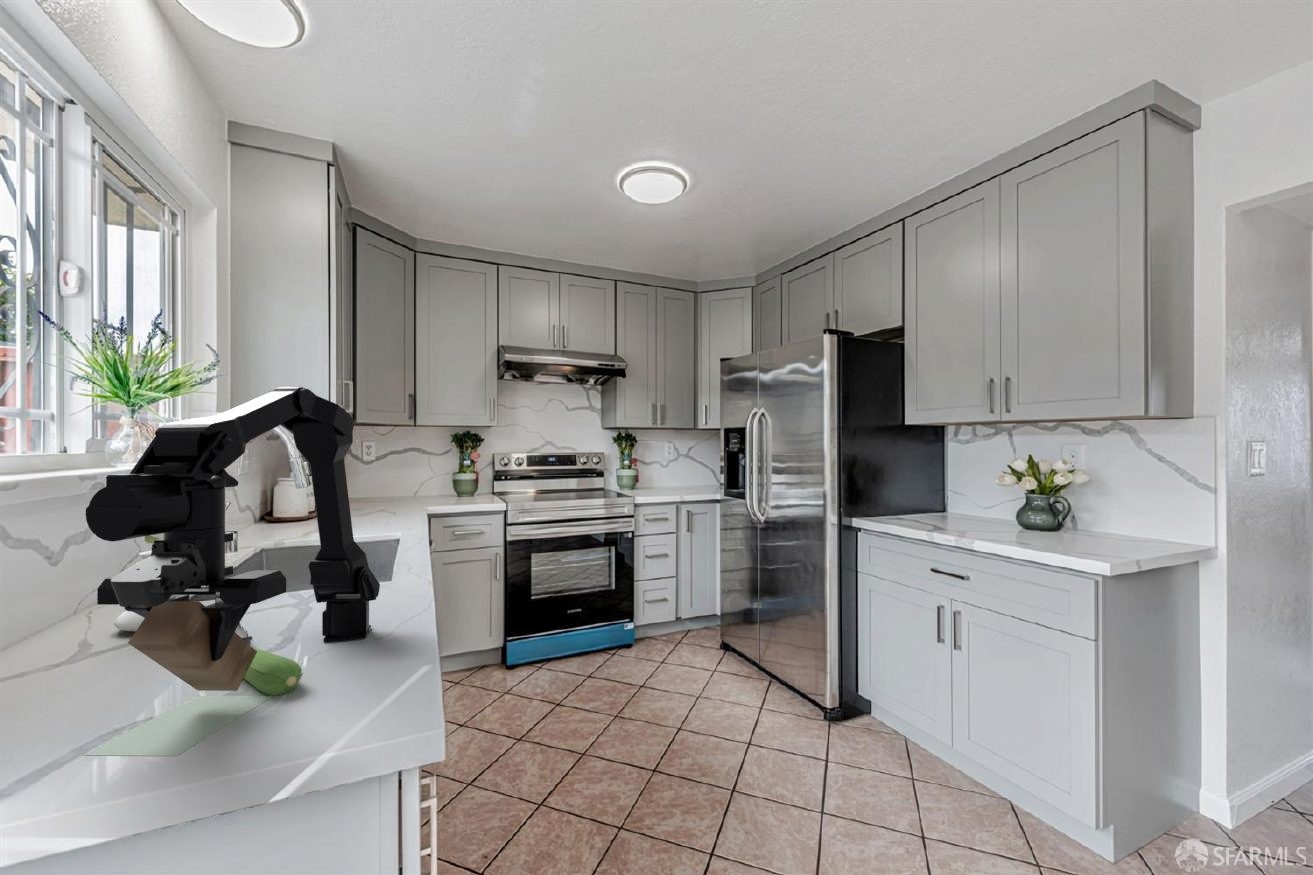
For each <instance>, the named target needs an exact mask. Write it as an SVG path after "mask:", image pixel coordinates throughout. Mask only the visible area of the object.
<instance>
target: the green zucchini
mask: <svg viewBox="0 0 1313 875" xmlns="http://www.w3.org/2000/svg"><path fill="white" fill-rule="evenodd" d="M251 647H252V648H254V649H255V650H256V651H257V653H256V655H255V657H254V659H253V661H252V663H251V665H250V667H249V669H248V671H247V673H246V675H245V677H244V679H243V680H246V682H248V683H250V684H251V685H252V686H253V687H254V688H256V689H257V690H259V692H261V693H263V694H267V695H269V696H276V697H277V696H281V695H284V694H287V693H290V692H292V691H293V690H294V689H295V688H296V687H297V686H298V684H299V682H300V680H301V678H302V676H303V675H304V674H303V672H302V668H301V665H299V663H298V662H296V661H295V660H293V659H291V658H289V657H285V656H281V655H277V654H274V653H271V652H268V651H265V650H262V649H260V648H256V647H254V646H251Z"/></svg>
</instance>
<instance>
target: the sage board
mask: <svg viewBox="0 0 1313 875" xmlns="http://www.w3.org/2000/svg"><path fill="white" fill-rule="evenodd" d="M273 697H274V695H196V696H194V697H193V698H190V699H189V700H187V701H185V702H182V703H181V704H179V705H177V706H175V707H173V708H171V709H169V710H167V711H165V712H164V713H162V714H159V715H158V716H156V717H154V718H152V719H150V720H148V721H146V722H144V723H142V724H141V725H138V726H137V727H134V728H132V729H131V730H129V731H127V732H125V733H123V734H121V735H119V736H117V737H115V738H114V739H112V740H110V741H108V742H106V743H104V744H102V745H100V746H98V747H96V748H95V749H93V750H90V751H88V752H87V753H85V754H83V756H84V757H85V756H89V757H90V756H92V757H93V756H101V757H103V756H104V757H105V756H106V757H108V756H110V757H115V756H117V757H178V756H180V755H181V754H183V753H184V752H186V751H188V750H189V749H191V748H192V747H195V746H196V745H197V744H199V743H201V742H203V741H204V740H205V739H207V738H209V737H210V736H212V735H214V734H215V733H216V732H218V731H220V730H221V729H223V728H225V727H226V726H228V725H230V724H232V723H233V722H235V721H236V720H237V719H240V718H241V717H243V716H245V715H246V714H248V713H250V712H251V711H252V710H254V709H256V708H257V707H259V706H260V705H262V704H263V703H265V702H267V701H268V700H270V699H271V698H273Z"/></svg>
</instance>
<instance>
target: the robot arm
mask: <svg viewBox="0 0 1313 875" xmlns="http://www.w3.org/2000/svg"><path fill="white" fill-rule="evenodd" d="M279 426H281V427H283V428H284V429H285V430H287V431H288V432H289V433H291V434H292V436H293V441H294V444H295V447H296V449H297V450H298V452H299V453H300V454H301V455H302V456H303V457H304V459H305V460H306V461H307V462H308V464H309V468H310V473H311V474H310V475H311V483H312V490H313V497H314V498H313V499H314V505H315V507H314V508H315V513H316V520H317V521H316V522H317V529H318V537H319V544H320V548H319V550H318V552H317V554H316V555H315V558H314V559H313V560H311V561H310V562H309V564H308V569H309V572H310V583H309V584H310V585H312V588H313V589H312V590H313V593H314V597H315V600H316V603H318V604H320V603H325V609H324V610H323V611H322V612H321V613H322V614H321V615H322V616H321V617H322V620H321V621H322V622H321V623H322V624H321V626H322V627H321V628H322V633H321V635H322V637H324V638H323V639H322V641H323V643H327V642H328V643H329V642H331V643H332V642H337V641H340V642H341V641H349V640H358V639H365V638H367V636H368V635H369V634H370V633H369V632H370V631H371V629H372V625H371V624H370V602H371V601H375V600H377V597H378V596H379V594H380V587H381V584H380V582H379V581H378V579H377V578H376V576H375V574H374V573H373V571H372V570H371V569H370V567H369V564H368V563H369V561H368V558H367V555H366V552H365V551H364V550H363V549H362V548H361V547H360V546H359V544H357V543H356V541H355V539H354V532H353V525H352V516H351V515H352V514H351V508H350V507H351V505H350V499H349V491H348V490H349V489H348V482H347V481H348V480H347V474H346V473H347V472H346V464H345V457H346V456H347V455H348V452H349V450H350V448H351V447H352V445H353V442H354V438H353V437H354V436H353V431H354V427H355V426H354V420H353V417H352V416H351V414H350V413H349V412H347V410H346V409H345V408H343V407H341V405H339V404H337V403H335V402H333V401H330V400H329V399H325V398H324V397H321V396H318V395H317V394H315V393H314V392H313V391H312V390H310V389H308V388H305V387H303V386H284V387H283V386H281V387H280V386H279V387H278V386H277V387H276V388H273V389H271V390H270V391H268V393H265V394H262V395H261V396H258V397H256V398H254V399H251V400H250V401H247V402H245V403H242V404H240V405H238V406H235V407H233V408H231V409H229V410H225V411H224V412H222V413H220V414H216V415H212V416H206V417H205V416H204V417H196V418H189V419H183V420H177V421H173V422H167V423H164V424H162V425H161V426H159V427H158V428H157V429H156V430H155V432H154V435H155V436H154V437H153V439H152V440H151V442H150V444H149V445H148V447H147V448H146V449H145V451H144V452H143V453H142V454H141V456H140V458H139V459H138V461H137V462H136V464H135V465H134V466H133V468H132V470H131V471H129V473H128V474H126V473H125V474H124V473H122V474H120V473H119V474H117V473H116V474H108V475H106V477H105V481H106V482H105V483H106V484H105V486H104V487H102V488H100V489H99V490H98V491H97V492H96V493H95V494H94V495H93V496H92V497H91V499H90V502H89V504H88V505H87V507H86V508H85V521H86V524H87V526H88V528H89V529H90V531H91V532H92V533H93V535H95V536H96V537H97V538H99V539H101V540H103V541H106V542H107V541H108V542H119V541H125V540H130V539H131V540H132V539H136V538H142V537H144V538H145V536H155V535H161V534H163V539H158V540H154V544H153V543H152V544H151V551H152V553H151V556H150V557H148V558H147V559H142V560H140V561H139V560H138V561H137V562H135V563H134V564H132V565H131V566H129V567H128V568H126V569H124V570H123V571H121V572H119V573H117V574H116V575H114V576H111V577H107V578H104V580H102V582H101V583H100V584H99V586H98V587H97V589H96V590H97V599H96V600H97V601H96V602H97V604H96V605H98V606H99V605H104V606H105V605H111V606H113V605H115V606H117V605H118V606H119V607H120V608H121V607H122V608H124V610H125V611H131V612H134V613H136V614H138V615H140V616H142V617H144V618H145V617H146V616H147V614H148V613H149V611H150V610H151V609H152V607H154V606H158V605H161V604H163V603H165V602H166V601H190V595H191V596H192V595H193V596H194V595H196V596H199V595H200V596H201V595H204V596H205V595H206V596H207V595H210V596H212V595H213V596H215V598H214V603H211V604H208V605H204V606H205V607H202V608H201V610H202V611H203V612H204V613H205V614H206V615H207V616H208V617H209V619H210V652H211V659H212V661H217V660H219V659H221V658H222V656H223V654H224V652H225V650H226V648H227V646H228V644H229V642H230V640H231V638H232V636H233V634H234V632H235V630H236V628H237V627H238V625H239V623H240V624H241V621H242V620H243V618H244V616H245V614H246V613H247V611H249V608H250V607H251V606H252V605H255V604H258V603H260V602H265V601H267V600H269V599H272V598H275V597H277V596H280V595H283V594H285V593H287V578H286V575H285V574H284V573H283V572H282V571H281V570H280V569H279V570H274V569H273V570H272V569H271V570H266V569H265V570H263V569H261V570H260V569H259V570H258V569H257V570H256V569H255V570H250V571H247V572H244V573H240V574H235V575H234V566H233V565H226V543H228V542H234V532H226V488H233V487H237V486H239V481H238V480H237V479H236V478H235V477H234V476H232V475H230V474H229V473H228V472H227V471H226V469H227V468H228V467H230V466H231V465H232V464H233V463H235V462H236V461H237V460H238V459H239V458H241V457H242V456H243V455H244V453H245V452H246V447H247V445H248V444H249V443H250V442H251V441H252V440H255V439H256V438H259V437H260V436H262V435H264V434H266V433H267V432H270V431H272V430H273V429H275V428H277V427H279ZM231 575H233V576H231ZM227 576H230V577H227ZM225 577H226V578H225Z"/></svg>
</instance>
